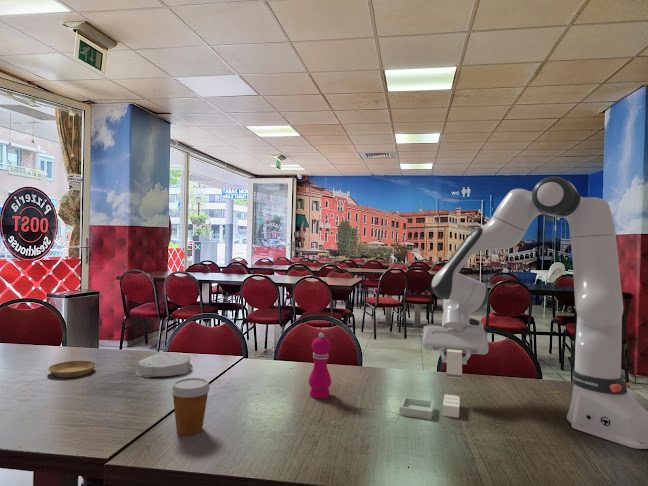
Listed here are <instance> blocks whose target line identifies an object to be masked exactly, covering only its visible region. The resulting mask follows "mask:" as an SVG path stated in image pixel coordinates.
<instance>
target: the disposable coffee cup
mask: <svg viewBox="0 0 648 486" xmlns="http://www.w3.org/2000/svg"><path fill="white" fill-rule="evenodd" d="M210 389H211V385H210V383H209V381H208V380H207V379H205V378H201V377H200V378H199V377H189V378H188V377H187V378H181V379H179V380H175V381H174V382H173V384H172V387H171V389H170V391H171V394H172V398H173V408H174V409H173V410H174V416H175V417H174V418H175V419H174V420H175V425H176V426H175V428H176V429H175V430H176V434H178V435H182V436H191V435H192V436H193V435H197V434H199V433H201V432H202V430H203V427H204V423H205V414H206V408H207V401H208V400H207V399H208V396H209V394H208V393H209V392H210Z"/></svg>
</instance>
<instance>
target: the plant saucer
mask: <svg viewBox="0 0 648 486" xmlns="http://www.w3.org/2000/svg"><path fill="white" fill-rule="evenodd" d="M96 366H97V363H96V362H94V361H91V360H70V361H64V362H63V361H62V362H58V363H54V364H52V365H50V366H48V371H49V372H50V373H51V374H52V375H53V376H54V377H58V378H74V377H75V378H76V377H81V376H84V375H88V374H89V373H90V372H91V371H93V370H94V368H95V367H96Z"/></svg>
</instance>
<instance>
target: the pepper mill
mask: <svg viewBox="0 0 648 486" xmlns="http://www.w3.org/2000/svg"><path fill="white" fill-rule="evenodd" d="M311 349H312V351H313V352H312V355H313V356H312V358H313V368H312V370H311V373H310V375H309V377H308V385H309V387H310V389H309V396H310V397H311V398H313V399H319V400H320V399H327V398H329V397H330V387H331V386H332V385H331V384H332V378H331V374H330V372H329V369H328V365H327V363H328V362H327V361H328V359H329V351H330V350H331V343H330V340H329V339H328V338H326V337H325V334H324V333H323V332H319V333H318V337H316V338H314V339H313V340H312V342H311Z"/></svg>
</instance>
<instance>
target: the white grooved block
mask: <svg viewBox="0 0 648 486" xmlns="http://www.w3.org/2000/svg"><path fill="white" fill-rule="evenodd" d="M460 398H461V395H456V394H449V393H444V396H443V402H442V416H443V417H451V418H458V419H459V418H460V405H461V404H460V401H461V399H460Z"/></svg>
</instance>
